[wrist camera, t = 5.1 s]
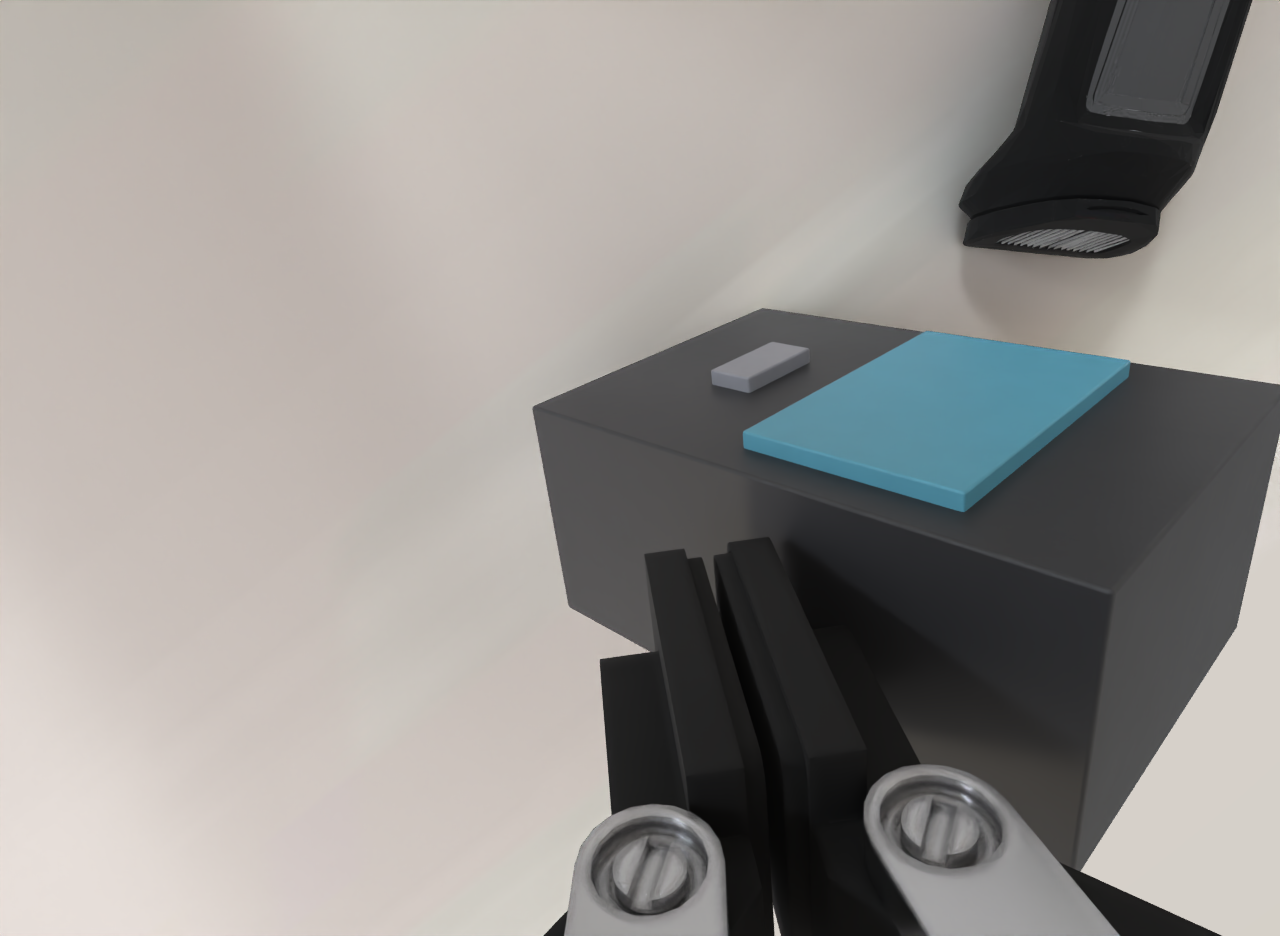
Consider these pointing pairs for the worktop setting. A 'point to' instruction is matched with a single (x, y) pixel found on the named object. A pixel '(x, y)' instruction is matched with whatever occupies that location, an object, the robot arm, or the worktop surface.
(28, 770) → the worktop surface
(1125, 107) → the electric trimmer
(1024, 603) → the dark grey box
